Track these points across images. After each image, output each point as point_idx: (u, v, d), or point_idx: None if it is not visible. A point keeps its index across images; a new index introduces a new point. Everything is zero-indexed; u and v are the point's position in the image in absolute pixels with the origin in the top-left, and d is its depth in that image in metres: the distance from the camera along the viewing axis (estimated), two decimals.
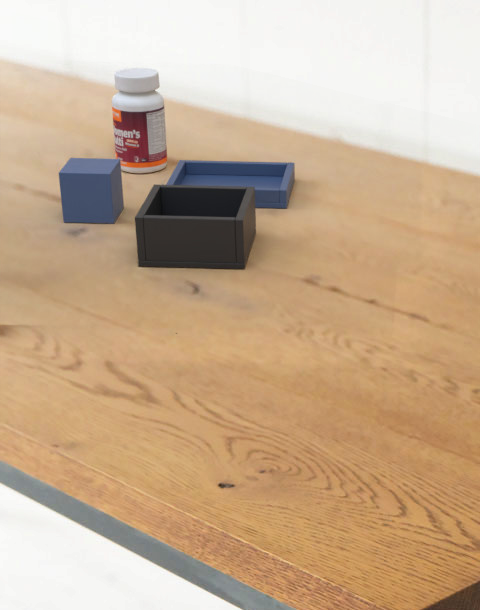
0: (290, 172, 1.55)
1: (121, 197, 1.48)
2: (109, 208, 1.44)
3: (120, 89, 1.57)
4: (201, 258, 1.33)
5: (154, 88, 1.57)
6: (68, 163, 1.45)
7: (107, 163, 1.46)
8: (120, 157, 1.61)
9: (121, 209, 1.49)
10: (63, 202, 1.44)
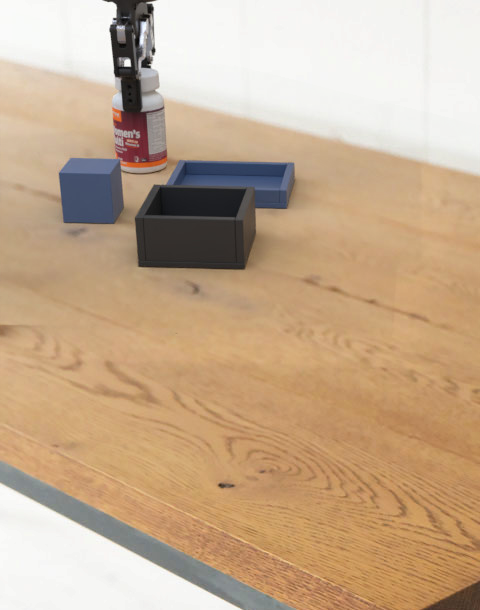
0: (290, 172, 1.55)
1: (121, 197, 1.48)
2: (109, 208, 1.44)
3: (120, 89, 1.57)
4: (201, 258, 1.33)
5: (154, 88, 1.57)
6: (68, 163, 1.45)
7: (107, 163, 1.46)
8: (120, 157, 1.61)
9: (121, 209, 1.49)
10: (63, 202, 1.44)
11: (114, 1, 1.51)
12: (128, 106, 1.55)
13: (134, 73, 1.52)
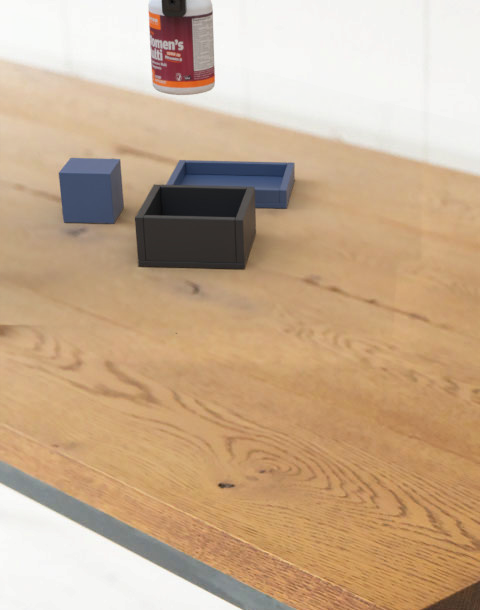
0: (290, 172, 1.55)
1: (121, 197, 1.48)
2: (109, 208, 1.44)
3: None
4: (201, 258, 1.33)
5: None
6: (68, 163, 1.45)
7: (107, 163, 1.46)
8: (158, 75, 1.30)
9: (121, 209, 1.49)
10: (63, 202, 1.44)
11: None
12: (169, 8, 1.25)
13: None
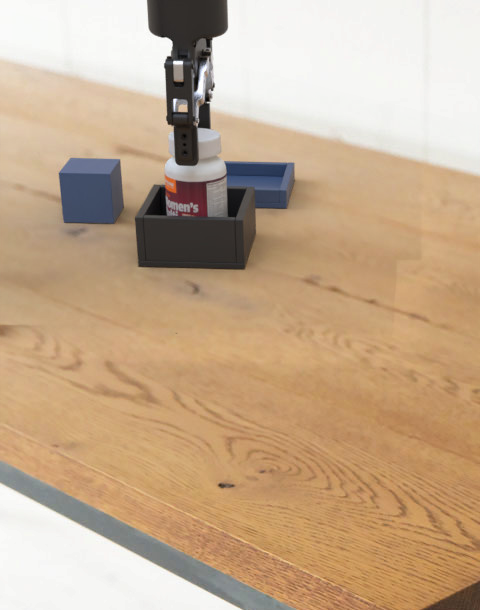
0: (290, 172, 1.55)
1: (121, 197, 1.48)
2: (109, 208, 1.44)
3: None
4: (201, 258, 1.33)
5: (216, 153, 1.32)
6: (68, 163, 1.45)
7: (107, 163, 1.46)
8: None
9: (121, 209, 1.49)
10: (63, 202, 1.44)
11: (170, 37, 1.25)
12: (182, 159, 1.29)
13: (191, 119, 1.25)
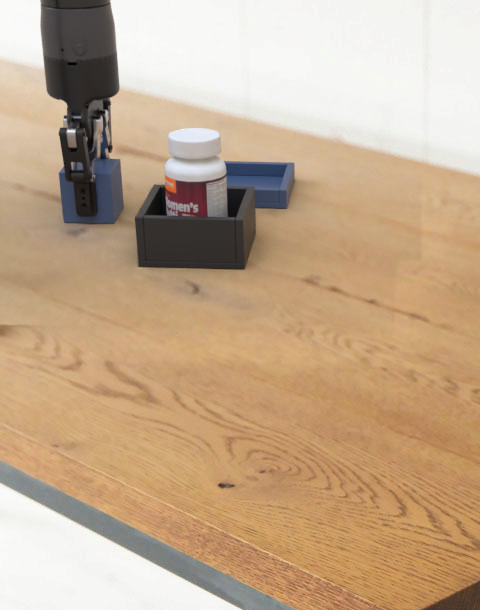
0: (290, 172, 1.55)
1: (121, 197, 1.48)
2: (109, 208, 1.44)
3: (175, 155, 1.32)
4: (201, 258, 1.33)
5: (215, 153, 1.32)
6: None
7: (107, 163, 1.46)
8: None
9: (121, 209, 1.49)
10: (63, 202, 1.44)
11: (64, 99, 1.38)
12: (82, 211, 1.43)
13: (87, 178, 1.39)
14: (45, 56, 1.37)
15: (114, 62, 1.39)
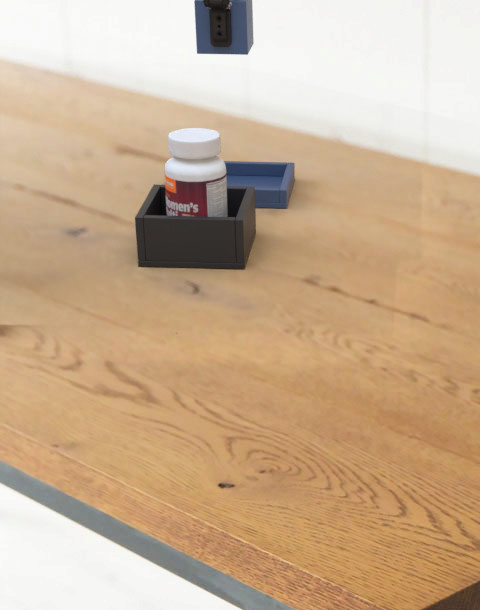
0: (290, 172, 1.55)
1: (252, 32, 1.48)
2: (243, 38, 1.44)
3: (175, 155, 1.32)
4: (201, 258, 1.33)
5: (215, 153, 1.32)
6: None
7: None
8: None
9: (252, 44, 1.48)
10: (197, 32, 1.44)
11: None
12: (217, 40, 1.43)
13: (226, 2, 1.39)
14: None
15: None
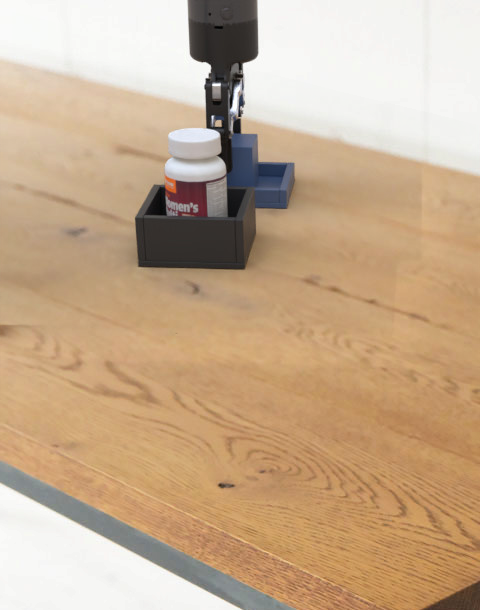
0: (290, 172, 1.55)
1: (257, 170, 1.56)
2: (249, 180, 1.51)
3: (175, 155, 1.32)
4: (201, 258, 1.33)
5: (215, 153, 1.32)
6: None
7: (247, 138, 1.53)
8: None
9: (257, 182, 1.56)
10: None
11: (209, 62, 1.44)
12: None
13: (227, 133, 1.44)
14: (191, 20, 1.44)
15: (256, 27, 1.45)
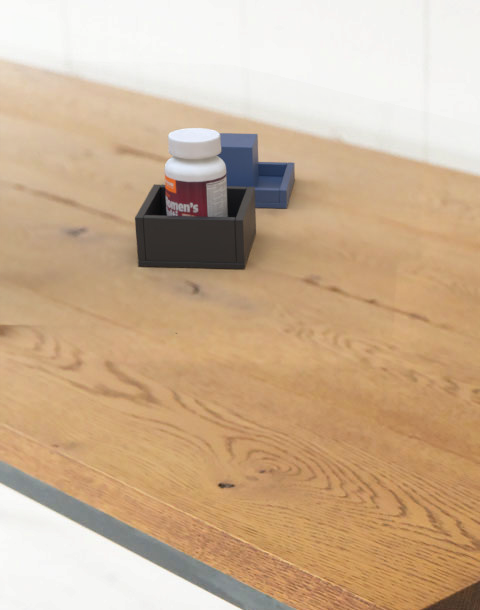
0: (290, 172, 1.55)
1: (257, 170, 1.56)
2: (249, 180, 1.51)
3: (175, 155, 1.32)
4: (201, 258, 1.33)
5: (215, 153, 1.32)
6: None
7: (247, 138, 1.53)
8: None
9: (257, 182, 1.56)
10: None
11: None
12: None
13: None
14: None
15: None
